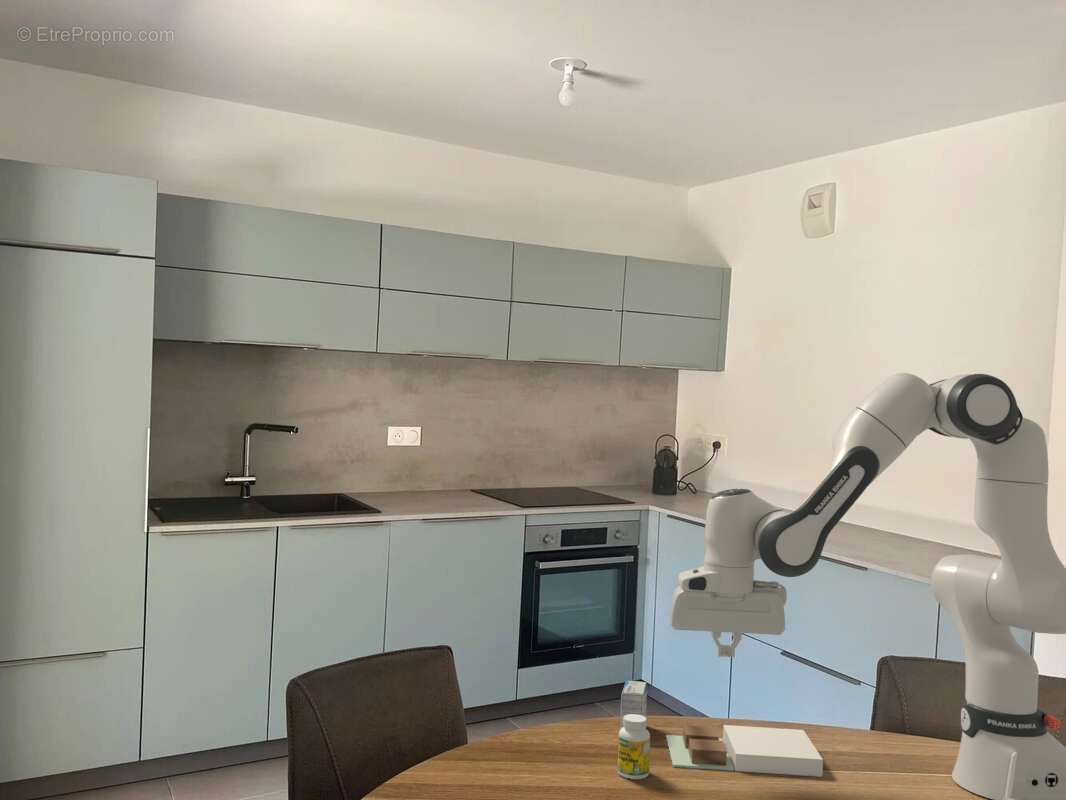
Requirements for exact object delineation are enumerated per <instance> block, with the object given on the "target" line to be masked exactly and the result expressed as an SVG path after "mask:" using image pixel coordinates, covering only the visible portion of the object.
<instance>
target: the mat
mask: <svg viewBox="0 0 1066 800" xmlns="http://www.w3.org/2000/svg"><path fill="white" fill-rule="evenodd" d="M665 738H667V739H666V743H667V742H668V743H667V748H668V747H669V748H668V751H670V752H669V755H670V760H672V761H671V763H672V768H683V767H684V768H685V769H686V768H687V769H701V770H702V769H703V770H712V771H714V770H716V771H730V772H731V771H732V772H735V769H734V767H733V765H732V762H731V760H730V757H729V755H728V752H727V758H726V766H724V765H709V764H693V763H692V762H691V759H690V755H689V749H687V748H685V745H684V742H683V735H675V734H673V735H672V734H666V735H665ZM719 741H723V737H722V738H721V737H719ZM723 743H724V742H723ZM724 746H725V745H724ZM725 748H726V747H725ZM726 751H727V750H726ZM684 768H683V769H684Z"/></svg>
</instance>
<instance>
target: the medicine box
mask: <svg viewBox="0 0 1066 800" xmlns="http://www.w3.org/2000/svg"><path fill="white" fill-rule="evenodd" d="M647 697H648V683H647V682H646V681H645V682H644V681H636V680H626V681H625V683H624V686H623V689H622V692H621V697H620V722H619V723H620V724H619V725H620V727H619V729H620V730H621V729H622V728H623V727H624V725H623V717H624V716H625V715H628V714H637V715H642V716H644V717H646V718H647V699H648V698H647ZM620 730H619V731H620Z"/></svg>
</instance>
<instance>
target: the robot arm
mask: <svg viewBox="0 0 1066 800" xmlns="http://www.w3.org/2000/svg"><path fill="white" fill-rule="evenodd" d="M926 430H929V431H931V432H934V433H936V434H938V435H941V436H944V437H949V438H957V439H965V440H966V439H967V440H968V439H969V440H970V442H971V443H972V444H973V446H974V448H975V452H976V458H977V464H976V474H975V475H976V476H975V477H976V478H975V487H974V489H975V491H974V492H975V493H974V505H973V507H974V508H973V517H974V521H975V524H976V525H977V528H979V529H980V531H982V532H983V533H984V534H986V535H987V536H988V537H990V538H991V539H992V540H993V541H994V543H995V544H996V547H998V551H999V553H1000V558H1001V559H1000V558H996V557H989V556H984V555H978V554H967V553H966V554H950V555H949V554H948V555H946V556H943V557H942V558H941V559H940V560H939V561H938V562H937V563H936V564H935V566H934V568H933V569H932V573H931V576H930V587H931V591H932V594H933V596H934V598H935V600H936V601H937V603H938V604H939V605H941V606H942V608H943V609H944V610H945V611H946V613H947V614H948V615H949V616H950V618H951V620H952V622H953V624H954V626H955V627H956V630H957V632H958V634H959V637H960V640H961V644H962V647H963V652H964V659H965V661H964V662H965V663H964V664H965V693H964V694H965V695H964V696H963V697H962V701H961V703H962V704H961V710H960V711H961V712H960V724H961V725H960V726H961V731H962V733H961V739H960V745H959V750H958V755H957V758H956V761H955V764H954V767H953V770H952V771H951V772H952V773H951V778H952V780H953V782H954V783H956V784H958V785H959V786H960V787H961V788H963V789H964V790H966V791H968V792H971V793H974V794H975V795H978V796H981V797H984V798H987V799H991V800H1066V746H1065V745H1063V744H1062V743H1061V742H1060V741H1059V740H1058V739H1056V737H1054V736H1053V735H1052V734H1050V733H1049V732H1048V728H1047V727H1049V728H1050V729H1051V730H1052V731H1057V730H1059V729H1060V728H1061V725H1062V724H1061V721H1060V719H1059V718H1058V717H1056V716H1054V715H1052V714H1048V713H1046V712H1044V711H1043V710H1041V709H1040V708H1038V699H1039V697H1038V696H1039V695H1038V694H1039V692H1038V691H1039V667H1038V664H1037V662H1036V659H1035V658H1034V657H1033V656H1032V655H1031V653H1029V652H1028V651H1027V650H1025V649H1024V648H1023V647H1022V645H1020V644H1019V642H1018V641H1017V640H1016V638H1015V637H1014V635H1013V633H1012V630H1011V627H1013V628H1016V629H1020V630H1021V629H1022V630H1026V631H1029V632H1033V633H1037V634H1049V635H1066V566H1065V564H1063V562H1062V561H1061V559H1060V558H1059V556H1058V555H1057V554H1058V553H1056V551H1055V548H1054V545H1053V543H1052V540H1051V537H1050V536H1051V535H1050V533H1049V526H1048V525H1049V524H1048V496H1049V495H1048V490H1049V457H1048V447H1047V440H1046V435H1045V432H1044V429H1043V428H1042V427H1041V425H1039V424H1038V423H1037V422H1035V421H1034V420H1031V419H1029V418H1026V417H1024V416H1023V413H1022V411H1021V410H1020V407H1019V406H1018V403H1017V400H1016V397H1015V395H1014V392H1013V391H1012V389H1011V388H1010V387H1009V385H1008V384H1007V383H1006V382H1004V381H1003V380H1002V379H1000V378H998V377H997V376H993V375H990V374H985V373H973V374H970V373H969V374H968V373H967V374H960V375H955V376H952V377H950V378H946V379H942V380H938V381H935V382H933V383H930V384H929V383H927V381H926V380H924V379H923V378H921V377H919V376H917V375H915V374H912V373H908V372H900V373H896V374H893V375H892V376H890V377H888V378H887V379H886V380H885V381H883V382H882V383H880V384H879V385H878V386H877V387H875V388H874V389H873V390H872V391H871V392H870V393H869V394H868V395H866V396H864V398H863V399H862V400H861V401H860V402H859V403H858V405H856V407H855V408H854V409H852V410H851V412H849V414H848V415H847V416H846V417H845V419H844V420H843V422H842V423H841V425H840V426H839V427H838V429H837V431H836V433H835V434H834V435H833V439H832V454H833V455H832V462H831V464H830V467H829V469H828V471H827V473H826V474H825V476H824V477H823V478H822V479H821V481H820V482H819V483H818V484H817V486H816V487H814V489H813V490H812V491H811V492H810V493H809V494H808V495H807V496H806V498H805V499H804V501H802V503H800V505H799V506H798V507H797V508H796V509H795V510H793V511H790V510H788V509H784V508H782V507H779V506H777V505H774V504H772V503H769V502H768V501H766V500H765V499H762V498H761V497H760V496H758V495H756V493H754V492H753V491H752V490H750V489H747V488H732V489H731V488H730V489H725V490H721V491H718V492H716V493H715V494H713V495H712V496H711V497H710V499H709V501H708V505H707V508H706V515H705V524H704V525H705V528H704V539H705V543H706V544H705V545H706V552H705V555H704V558H703V565H702V566H700V567H695V568H692V569H688V570H684V571H681V572H679V574H678V577H677V580H678V585H679V586H677V587H676V588H675V590H674V591H673V594H672V599H671V605H670V611H669V623H670V625H671V627H672V628H673V629H674V630H675V631H694V632H710V635H711V636H712V639H713V640H714V643H715V644H716V656H717V657H719V658H735V653H736V650H735V649H736V648H737V647H738V646H739V644H740V642H741V640H742V638H743V636H742V635H743V634H749V635H750V634H752V635H755V634H756V635H772V636H773V635H774V636H781V635H782V634H783V633H784V632H785V630H786V617H785V616H786V615H785V609H784V606H785V605H786V603H787V598H788V595H787V594H788V592H787V588H786V587H785V585H783V584H780V583H779V582H778V581H773V580H772V581H765V580H756V579H755V580H754V575H755V561H756V560H761V561H762V562H763V564H764V565H765V566H766V568H767V569H768V570H769V571H771V572H772V573H774V574H776V575H778V576H781V577H785V578H796V577H801V576H804V575H806V574H807V573H809V572H810V571H811V570H813V569H814V568H815V566H817V564H818V563H819V561H820V558H821V556H822V553H823V549H824V547H825V543H826V540H827V539H828V536H829V535H830V534H831V531H832V530H833V529H834V528H835V527H836V525H838V523H839V522H840V521H841V519H842V518H843V517H844V516H845V514H846V513H847V512H848V511H849V510H850V509H851V507H852V506H853V505H855V502H856V501H857V500H858V499H859V498H860V497H861V495H862V494H863V493H864V492H865V490H866V489H867V488H868V487H869V486H870V485H871V484H872V483H873V482H874V481H875V480H876V479H877V478H878V477H879V476H880V475H881V474H883V472H884V471H885V470H887V469H888V468H889V467H890V465H892V464H893V463H894V462H895V461H896V460H897V459H898V458H899V457H900V456H901V455H902V454H903V453H904V452H905V451H906V449H907V448H908V447H909V446H910V445H911V444H912V443H913V442H914V440H915V439H916V438H917V437H918V436H920V435H921V434H922V433H924V432H925V431H926ZM722 633H731V636H732V641H731V642H730V643H729V644H721V642H720V641H719V639H720V638H721V635H722Z"/></svg>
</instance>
